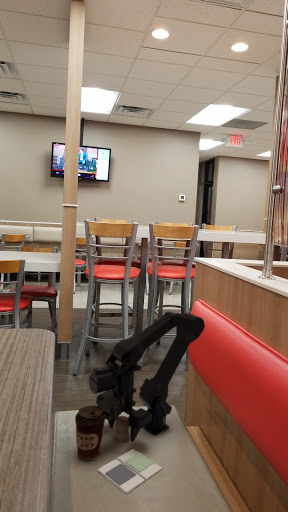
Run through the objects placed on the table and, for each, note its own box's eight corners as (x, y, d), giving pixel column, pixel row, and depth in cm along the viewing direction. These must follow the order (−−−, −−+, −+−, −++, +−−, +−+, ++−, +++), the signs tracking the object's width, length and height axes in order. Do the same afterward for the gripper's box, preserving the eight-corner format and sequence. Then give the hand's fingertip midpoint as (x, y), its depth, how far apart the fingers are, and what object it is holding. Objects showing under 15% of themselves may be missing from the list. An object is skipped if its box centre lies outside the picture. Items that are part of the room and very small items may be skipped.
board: (133, 450, 110) (133, 447, 110) (161, 469, 103) (161, 466, 102) (97, 471, 101) (98, 467, 101) (126, 494, 93) (126, 490, 93)
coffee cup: (98, 467, 102) (99, 422, 101) (68, 461, 104) (70, 417, 102) (107, 447, 111) (109, 405, 109) (80, 442, 112) (81, 401, 111)
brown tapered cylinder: (121, 432, 119) (122, 414, 118) (131, 438, 116) (132, 420, 115) (111, 438, 116) (112, 419, 115) (121, 444, 113) (122, 425, 112)
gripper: (82, 382, 114) (81, 431, 116) (125, 407, 101) (123, 461, 103) (111, 372, 122) (109, 418, 124) (154, 394, 109) (151, 444, 111)
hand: (121, 434), depth 115 cm, fingers open, 9 cm apart
